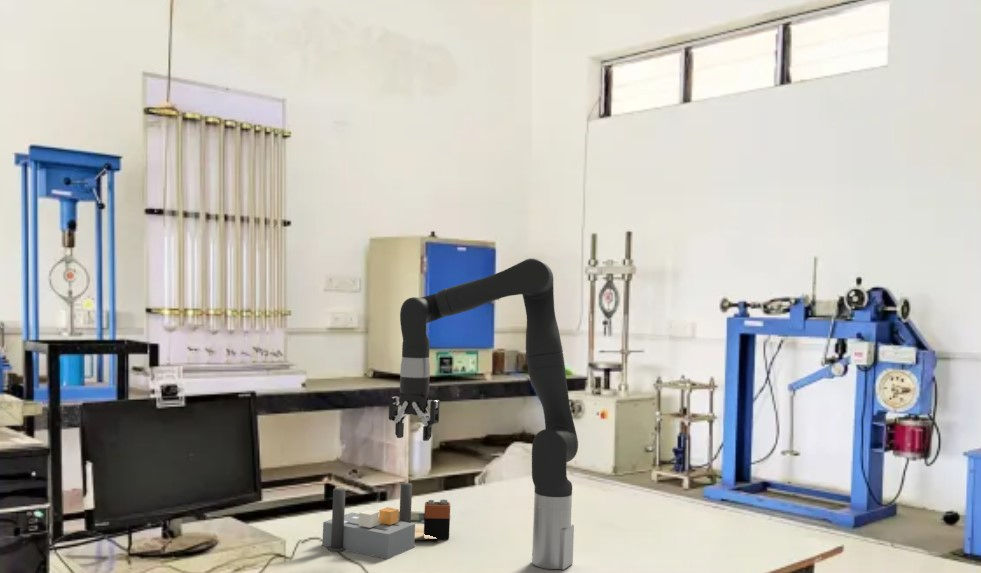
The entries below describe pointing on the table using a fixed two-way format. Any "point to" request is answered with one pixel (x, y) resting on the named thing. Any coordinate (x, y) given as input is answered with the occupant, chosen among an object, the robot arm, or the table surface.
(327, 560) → the table surface
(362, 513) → the white ridged block
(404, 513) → the post
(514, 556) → the table surface
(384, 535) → the box
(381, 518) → the toggle orange
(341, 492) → the post
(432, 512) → the battery
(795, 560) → the table surface
